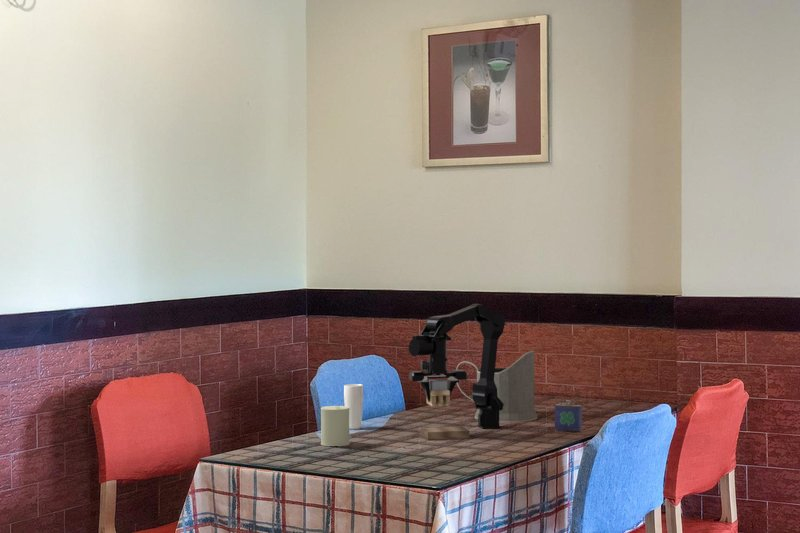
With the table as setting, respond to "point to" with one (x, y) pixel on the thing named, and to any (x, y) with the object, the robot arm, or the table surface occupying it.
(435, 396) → the block
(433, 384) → the block
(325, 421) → the can
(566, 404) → the flask
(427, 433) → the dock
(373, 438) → the table surface
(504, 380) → the pitcher
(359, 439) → the table surface
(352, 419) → the drinking glass
